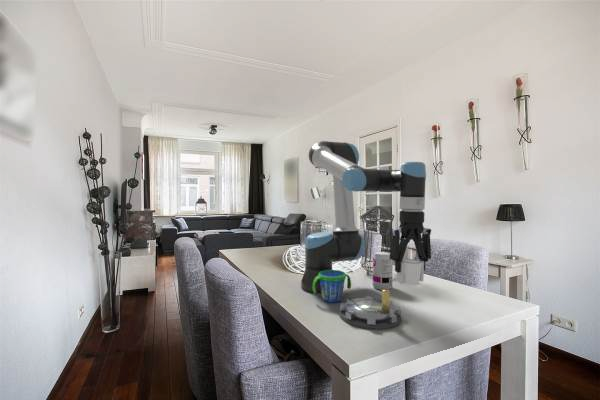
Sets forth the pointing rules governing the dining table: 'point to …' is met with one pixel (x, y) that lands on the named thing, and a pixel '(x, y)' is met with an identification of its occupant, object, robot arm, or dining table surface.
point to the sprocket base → (369, 326)
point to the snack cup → (332, 284)
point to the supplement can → (382, 270)
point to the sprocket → (371, 309)
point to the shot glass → (412, 271)
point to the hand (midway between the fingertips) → (409, 281)
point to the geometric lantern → (375, 233)
